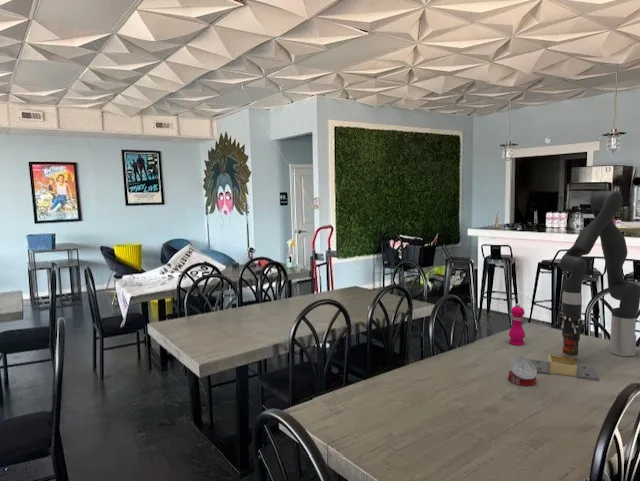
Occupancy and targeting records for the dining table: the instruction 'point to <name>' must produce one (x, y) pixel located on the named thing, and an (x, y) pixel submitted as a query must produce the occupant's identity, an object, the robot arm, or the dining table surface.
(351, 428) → the dining table surface
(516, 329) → the pepper mill
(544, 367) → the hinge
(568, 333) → the deodorant
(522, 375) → the canned food
